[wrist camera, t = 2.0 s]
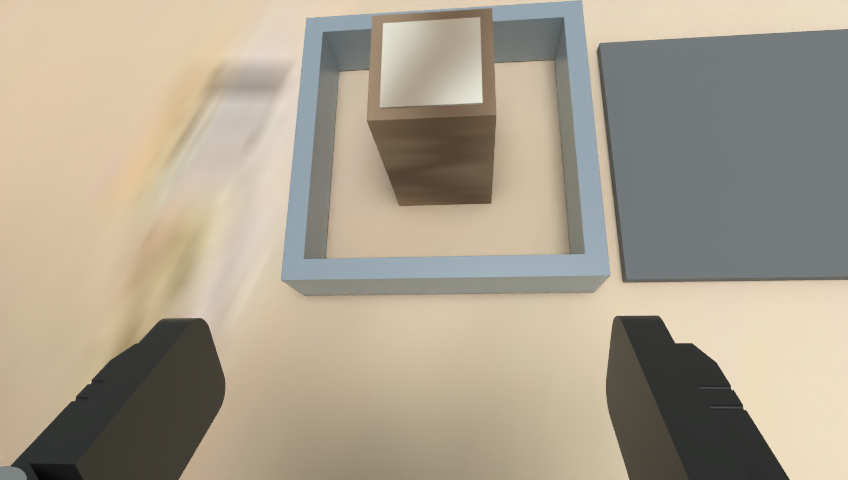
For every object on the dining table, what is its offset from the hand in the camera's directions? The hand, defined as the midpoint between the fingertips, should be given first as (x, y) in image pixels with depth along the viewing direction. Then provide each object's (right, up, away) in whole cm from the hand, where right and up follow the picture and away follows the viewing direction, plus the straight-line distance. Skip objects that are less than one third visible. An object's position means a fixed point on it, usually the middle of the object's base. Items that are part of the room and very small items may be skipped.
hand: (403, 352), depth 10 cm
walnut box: (+2, +7, +19) cm, 20 cm away
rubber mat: (+18, +7, +17) cm, 26 cm away
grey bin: (+2, +7, +19) cm, 20 cm away
